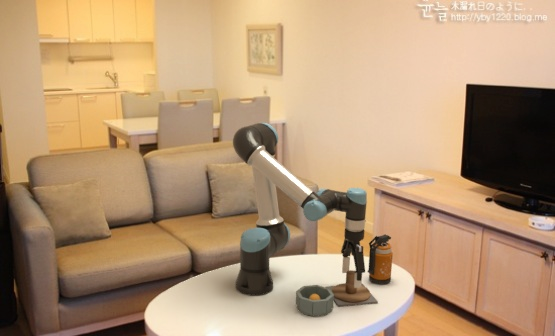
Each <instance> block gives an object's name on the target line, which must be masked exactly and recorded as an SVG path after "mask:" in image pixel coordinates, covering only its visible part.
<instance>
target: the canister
mask: <svg viewBox="0 0 555 336" xmlns="http://www.w3.org/2000/svg"><path fill="white" fill-rule="evenodd" d="M391 239H392V237H391V236H390V235H388V234H383V235H378V236H377V235H375V236H374V237H373V238H372V239H371V241H370V242H368V245H369V246H368V247H369V257H368V258H369V259H368V269H367V273H368V279H369V281H371V282H374V283H376V284H382V285H383V284H388V283H389V282H391V280H392V279H391V278H392V268H393V267H392V266H393V255H394V254H393V251H392V250H393V249H392V245H391V244H390V243H389V240H391Z"/></svg>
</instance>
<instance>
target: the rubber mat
mask: <svg viewBox="0 0 555 336" xmlns="http://www.w3.org/2000/svg"><path fill="white" fill-rule="evenodd" d="M334 286H335V285H330V286H329V285H328V286H325V287H326V288H329V289H330V290H331V291H332V288H333V287H334ZM361 286H364V287H366V286H365V285H364V284H363V283H362V284H361ZM378 302H379V301H378V300H377V299H376V298H375V296H374V295H373V294H372V293H371V292H370V298H369V299H368V300H366V301H364V302H359V303H349V302H344V301H341V300H338V299H336V298H335V297H334V304H336V306H337V307H338V308H341V307H342V308H344V307H353V306H367V305H374V304H378Z"/></svg>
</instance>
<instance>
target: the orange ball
mask: <svg viewBox="0 0 555 336" xmlns="http://www.w3.org/2000/svg"><path fill="white" fill-rule="evenodd" d="M309 299H311V300H321V299H320V297H319V295H317V294H312V295H311V296H310V297H309Z"/></svg>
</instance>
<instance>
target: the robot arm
mask: <svg viewBox="0 0 555 336" xmlns="http://www.w3.org/2000/svg"><path fill="white" fill-rule="evenodd" d="M278 143H279V134H278V132H277V130H276V128H275V127H273V126H272V125H271V124H269V123H266V122H257V123H254V124H251V125H248V126H242V127H241V128H239V129H238V130H237V131H236V132H235V133H234V135H233V138H232V147H233V149H234V152H235V153H236V155H237V156H238V157H239V158H240V159H241V160H242V161H243V162H244V163H245V164H246V165H248V166H251V167H252V175H253V184H254V190H255V199H256V205H257V214H258V219H257V220H256V221H255V225H256V226H255V227H253V228H248V229H246V230H245V231H242V233H241V235H240V241H239V246H240V247H239V248H240V249H239V250H240V251H239V254H240V260H239V262H240V264H239V265H240V267H239V271H238V274H237V278H236V281H235V289H236V290H237V291H238V292H239V293H240V294H244V295H247V296H262V295H267V294H268V293H270V292H272V291H273V289H274V280H273V276H272V274H271V271H270V257H273V256H274V255H275V254H276V253H278V252H279V251H281V250H284V248H285V247H286V246H287V245H288V243H289V242H290V240H291V232H290V228H289V226H288V225H286V223H285V221H284V218H283V217H282V216H281V215H280V209H279V203H278V202H279V201H278V194H277V187H278V189H279V190H281V191H282V192H283V193H284V194H285V195H287V197H289V198H290V199H291V200H292V201H294V202H295V203H296V204H297V205H298V206H300V207H301V209H302V211H303V215H304V217H305V218H306V219H307V220H308V221H311V222H317V221H320V220H322V219H323V218H325V217H326V216H328V215H329V214H331V213H332V212H334V211H335V212H341V213H345V219H344V240H343V243H342V247H341V250H340V254H342V270H341V272H342V274H346V272H347V271H349V270H350V267H351V266H350V264H351V256H352V257H353V262H354V267H355V270H353V271H354V272H355V278H354V288H361V284H363V283H362V282H363V281H362V280H363V274H364V273H366V267H365V266H366V265H365V257H364V245H362V246H361V241H363V240H364V239H365V227H366V222H367V221H366V216H367V215H366V213H367V203H368V200H367V197H368V196H367V191H366V190H365V189H364V188H359V187H351V188H348V189H347V190H346V192H345V191H339V190H333V189H330V188H320V189H318V191H317V192H315V191H314V190H313V189H311V188H310V187H309V186H308V185H307V184H305V183H304V182H303V181H302V180H301V179H300V178H298V176H296V175H295V174H294V173H293V172H291V171H290V170H289V169H288V168H287V167H285V166H284V164H282V163H281V162H280V161H279V160H277V159H276V158H275V156H276V147H277V145H278Z"/></svg>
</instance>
